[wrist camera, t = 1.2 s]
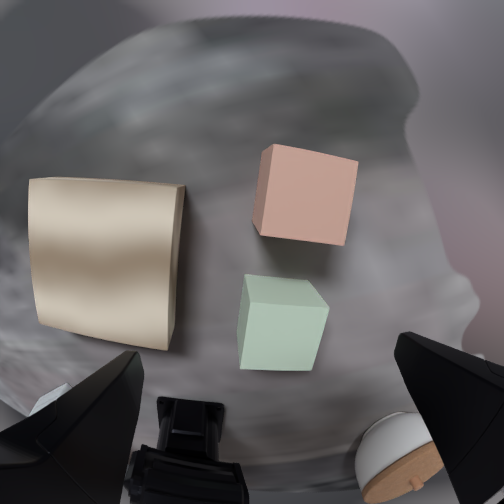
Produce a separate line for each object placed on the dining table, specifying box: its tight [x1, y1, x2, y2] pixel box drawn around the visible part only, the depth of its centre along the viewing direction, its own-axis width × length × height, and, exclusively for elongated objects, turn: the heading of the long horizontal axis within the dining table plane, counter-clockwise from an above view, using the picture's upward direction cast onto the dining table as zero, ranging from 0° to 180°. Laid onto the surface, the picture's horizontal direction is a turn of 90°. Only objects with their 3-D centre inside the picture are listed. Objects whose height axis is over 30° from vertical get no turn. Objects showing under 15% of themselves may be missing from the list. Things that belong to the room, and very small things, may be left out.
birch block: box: [28, 177, 185, 351], centre depth 18 cm, size 11×11×4 cm
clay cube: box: [252, 144, 358, 246], centre depth 18 cm, size 5×5×5 cm
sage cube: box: [237, 274, 329, 371], centre depth 20 cm, size 5×5×5 cm
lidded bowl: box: [355, 412, 444, 503], centre depth 24 cm, size 13×13×11 cm
